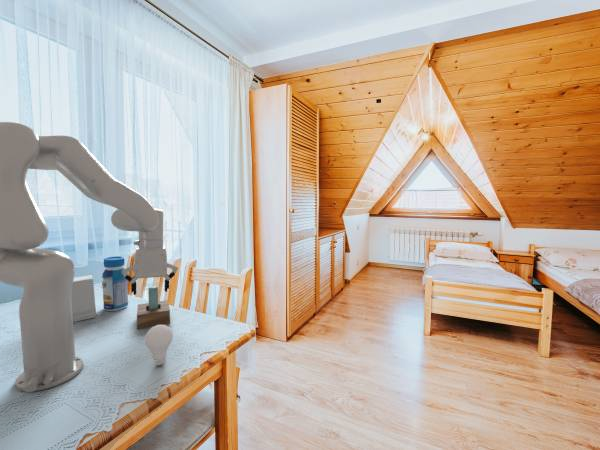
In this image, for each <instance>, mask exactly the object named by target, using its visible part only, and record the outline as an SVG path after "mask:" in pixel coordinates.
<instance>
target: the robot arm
mask: <svg viewBox="0 0 600 450" xmlns="http://www.w3.org/2000/svg"><path fill="white" fill-rule="evenodd" d="M29 170H43V171H45V170H46V171H51V170H52V171H58V172H59V173H60V174H62V176H63V177H64V178H66V179H67V180H68V181H69V182H70V183H71V184H72V185H74V187H76V188H77V190H79V191H80V192H81V193H82V194H83V195H84V196H85V197H87V198H88V199H91V200H92V201H95V202H97V203H100V204H104V205H107V206H110V207H112V208H115V210H114V212H112V214H111V218H110V221H111V224H112V225H113V227H114V228H116V229H117V230H120V231H124V232H138V239H137V240H134V241H133V246H137V247H136V249H135V253H134V259H133V260H134V261H133V265H130V266H128V267H126V268H124V270H122V274H123V275H124V277H125V279H127V280H128V282H129V283H130V285H131V286H130V287H131V291H130V293H133V296H135V295H137V280H138V279H147V278H148V279H149V278H150V279H151V278H160V277H161V278H162V277H163V278H164V292H165V293H168V290H169V289H170V281H171V279H172V278H173V277H174V276H176V274H177V271H178V270H179V268H178V266H176V265H173V264H171V263H169V262H168V258H167V257H168V256H167V251H166V250H167V249H166V247H165V246H164V211H163V210H162V209H160V208H154V206H153V205H152V204H151V203H150V202H149V201H148V200H147V199H146V197H144V196H143V195H142V194H141V193H139V192H137V191H135V189H132V188H130V187H129V186H127V184H125V183H123V182H121V181H119V180H118V179H116V178H115V177H113V175H112V174H110V172H109V171H108V170H107V169H106V168H105V167H104V166H103V165H102V164H101V162H100V161H98V159H97V158H96V157H95V156H94V155H93V153H91V152H90V151H89V149H88V148H87V147H86V146H85V145H84V144H83V143H82V142H81V141H79V140H78V139H77V138H75V137H72V136H68V135H43V136H40V135H38V133H37V132H35V130H33V129H32V128H31V127H29V126H27V125H25V124H22V123H18V122H11V121H2V122H1V121H0V283H2V284H5V285H9V286H13V287H20V288H23V292H22V297H21V299H20V303H19V307H18V315H19V323H20V325H19V326H20V337H21V339H20V340H21V351H22V352H21V353H22V362H23V372H21V373H20V374H18V376H17V377H16V379H15V381H14V384H15V387H16V389H17V390H19V391H21V392H22V391H23V392H26V393H33V392H36V391H42V390H47V389H50V388H54V387H56V386H59V385H61V384H63V383H66V382H67V381H69V380H71V379H72V378H74V377H75V376H78V374H79V373H80V372H81V371H82V369H83V367H84V360H83V359H82V358H80V357H78V356H76V352H75V351H76V350H75V349H76V348H75V334H74V333H75V331H74V322H73V313H72V284H73V279H74V278H75V271H76V270H75V269H76V268H75V264H74V262H73V260H72V259H71V257H70V256H68V254H65V253H63V252H61V251H58V250H53V249H48V248H39V247H40V246H42V245H43V244H45V243H46V241H48V240H47V239H48V238H49V227H48V225H47V223H46V221H45V219H44V217H43V215H42V213H41V211H40V209H39V207H38V205H37V204H36V203H37V202H35V199H34V197H33V195H32V193H31V191H30V189H29V185H28V182H27V173H28V171H29ZM168 268H169V269H171V272H170V273H169V274H168ZM131 271H133V277H132V276H131V275H130V274H129V272H131Z"/></svg>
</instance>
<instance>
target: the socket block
mask: <svg viewBox="0 0 600 450" xmlns="http://www.w3.org/2000/svg"><path fill="white" fill-rule="evenodd" d="M136 310H137V311H136V325H137V326H136V329H137V330H143V329H148V328H149V329H150V328H152V327H154V326H156V325H166V326H167V325H170V324H171V309H170V304H169V300H163V301H162V300H160V301H158V309H155V310H149V302H147V303H139V304H137V309H136Z"/></svg>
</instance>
